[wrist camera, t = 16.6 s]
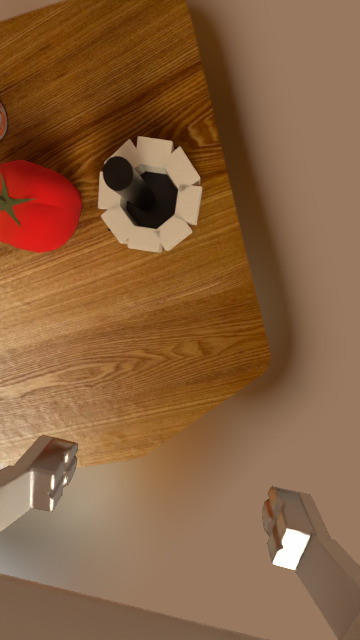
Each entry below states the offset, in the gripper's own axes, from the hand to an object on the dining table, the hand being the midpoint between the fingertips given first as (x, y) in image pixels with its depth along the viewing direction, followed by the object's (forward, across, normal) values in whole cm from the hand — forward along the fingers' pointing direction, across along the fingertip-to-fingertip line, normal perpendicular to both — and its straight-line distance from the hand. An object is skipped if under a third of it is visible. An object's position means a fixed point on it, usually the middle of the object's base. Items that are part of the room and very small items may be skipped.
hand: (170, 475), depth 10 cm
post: (+31, +10, -15) cm, 35 cm away
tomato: (+31, +24, -11) cm, 40 cm away
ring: (+29, +9, -15) cm, 34 cm away
